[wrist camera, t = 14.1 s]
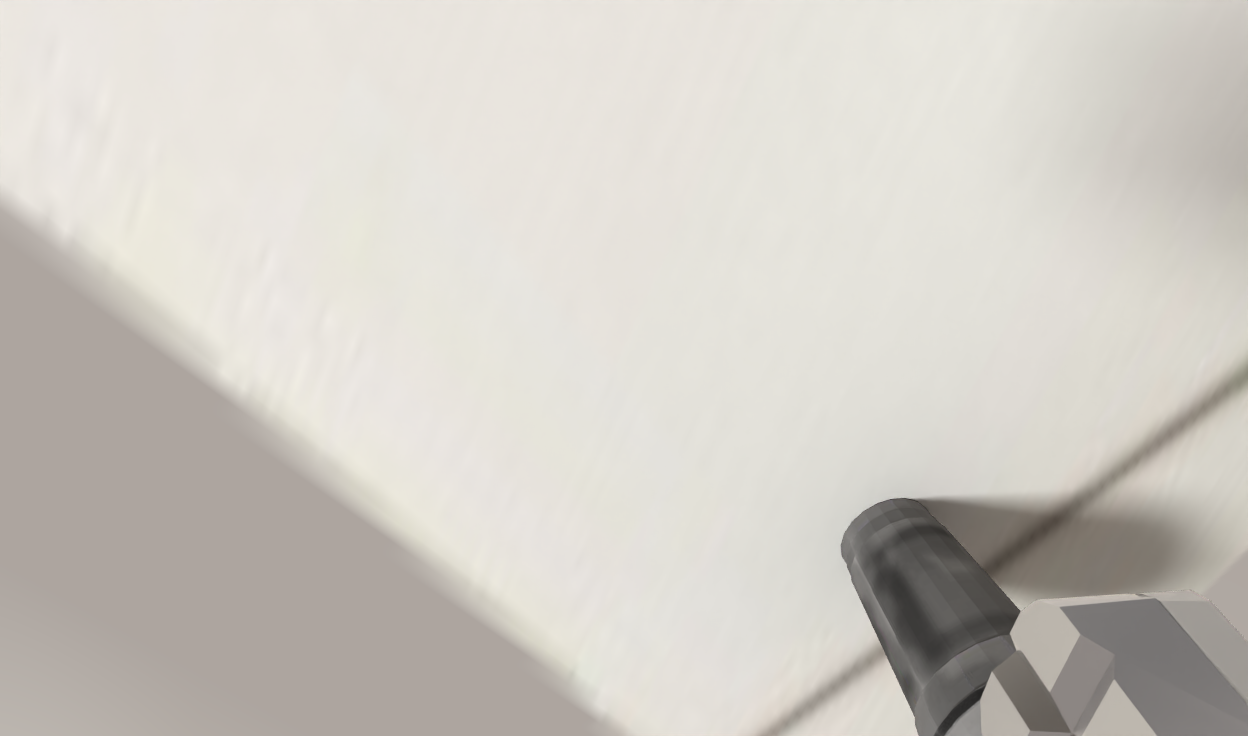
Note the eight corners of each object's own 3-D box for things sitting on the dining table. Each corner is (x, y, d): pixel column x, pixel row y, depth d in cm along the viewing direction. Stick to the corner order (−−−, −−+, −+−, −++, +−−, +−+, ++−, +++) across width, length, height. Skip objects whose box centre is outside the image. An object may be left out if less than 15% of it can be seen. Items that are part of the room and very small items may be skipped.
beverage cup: (915, 447, 52) (1211, 836, 36) (982, 528, 56) (1274, 910, 40) (784, 543, 53) (1014, 961, 37) (859, 616, 57) (1095, 1020, 41)
